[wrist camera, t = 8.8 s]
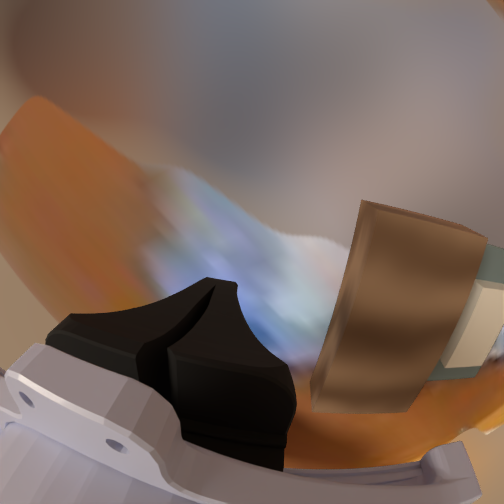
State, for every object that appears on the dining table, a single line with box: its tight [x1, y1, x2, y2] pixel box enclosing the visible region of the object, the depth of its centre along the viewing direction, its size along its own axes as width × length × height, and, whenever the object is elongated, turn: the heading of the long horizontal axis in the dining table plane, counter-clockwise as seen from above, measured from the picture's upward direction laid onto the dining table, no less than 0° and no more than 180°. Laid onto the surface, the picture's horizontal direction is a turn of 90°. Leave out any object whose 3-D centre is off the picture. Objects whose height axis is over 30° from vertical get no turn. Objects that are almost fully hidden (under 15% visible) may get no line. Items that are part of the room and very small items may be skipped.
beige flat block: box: [440, 279, 504, 368], centre depth 21 cm, size 9×6×2 cm, turn 173°
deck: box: [310, 200, 488, 414], centre depth 21 cm, size 18×10×4 cm, turn 172°
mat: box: [427, 244, 504, 381], centre depth 22 cm, size 16×12×1 cm
